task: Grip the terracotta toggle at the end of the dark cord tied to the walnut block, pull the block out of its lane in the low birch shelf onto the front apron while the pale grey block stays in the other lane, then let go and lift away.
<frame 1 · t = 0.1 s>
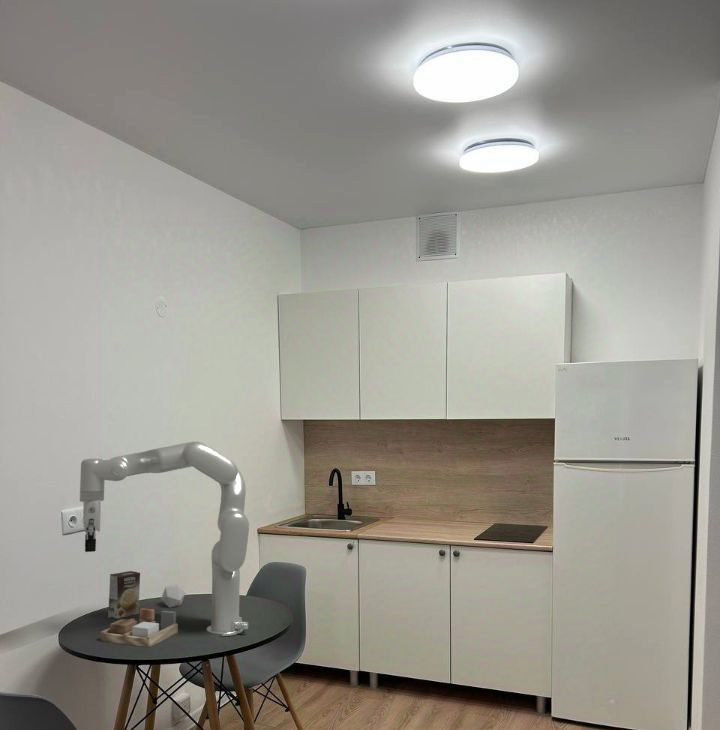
hand: (90, 548, 229), 31 cm above the table, tool pointing down, fingers open, 9 cm apart
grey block: (155, 626, 234), point 4 cm above the table, slide at 0.0 cm
lane shelf: (146, 636, 236), on the table
coffee box: (123, 617, 259), on the table
die: (173, 606, 275), on the table
walnut block: (133, 624, 237), point 4 cm above the table, slide at 0.0 cm
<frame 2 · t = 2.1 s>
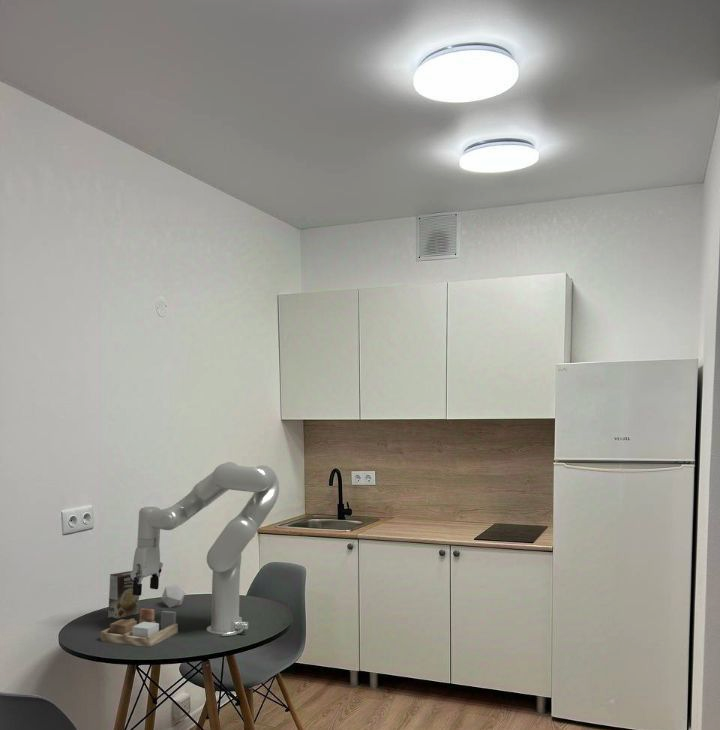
hand: (145, 591, 245), 13 cm above the table, tool pointing down, fingers open, 9 cm apart
nothing on the table moved.
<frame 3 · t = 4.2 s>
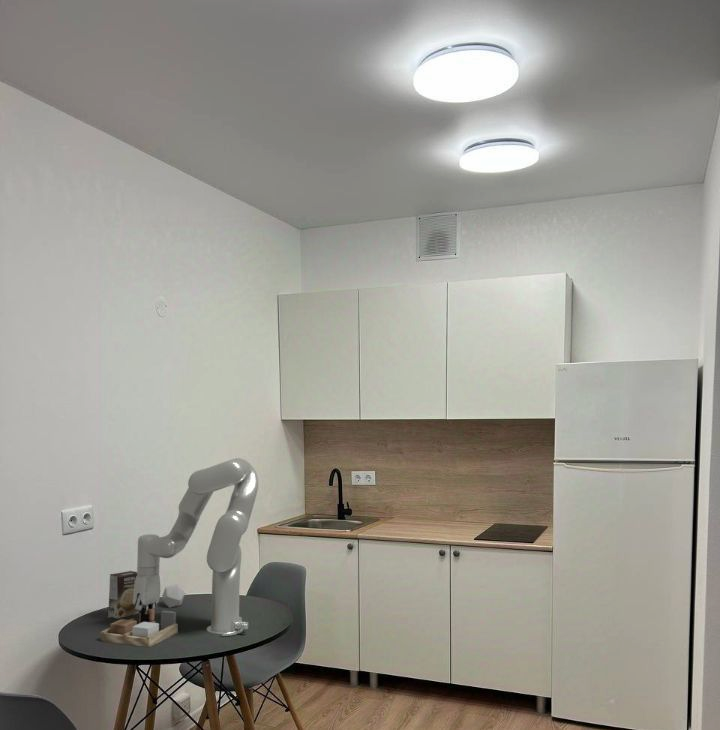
hand: (146, 623, 244), 2 cm above the table, tool pointing down, fingers closed on walnut block
walnut block: (133, 624, 237), point 4 cm above the table, slide at 0.0 cm, touching gripper
everything else where it was.
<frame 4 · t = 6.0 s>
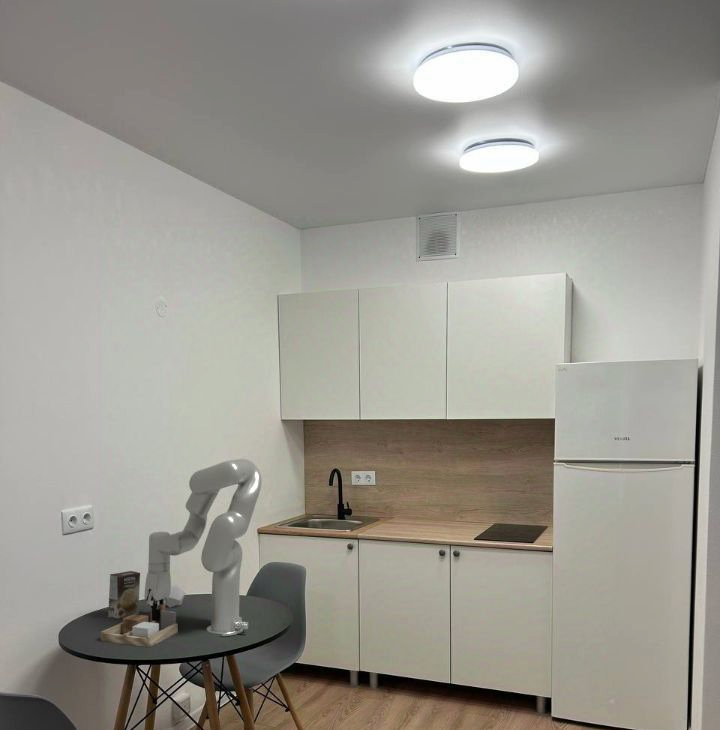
hand: (157, 618, 250), 2 cm above the table, tool pointing down, fingers closed on walnut block
walnut block: (145, 619, 243), point 4 cm above the table, slide at 6.4 cm, touching gripper
everything else where it was.
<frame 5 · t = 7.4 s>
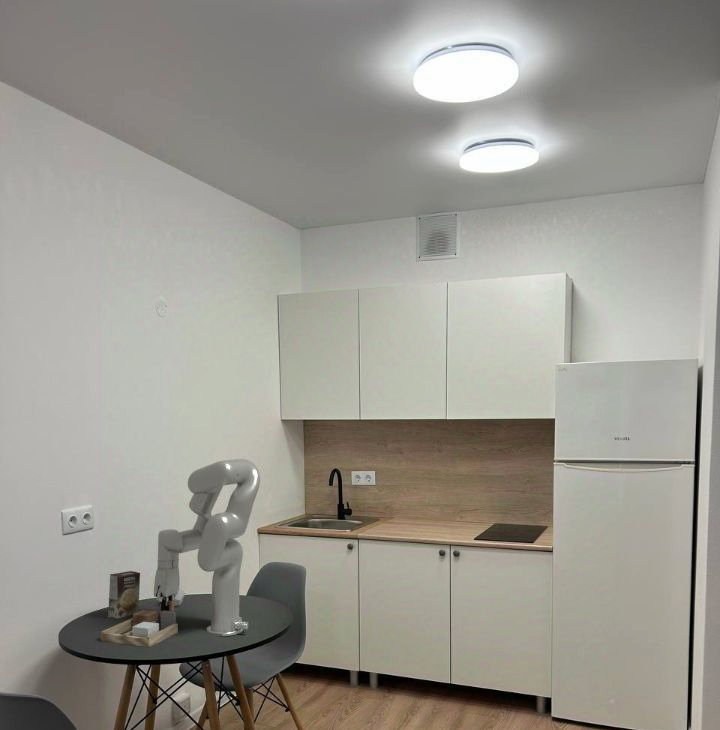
hand: (166, 614, 255), 2 cm above the table, tool pointing down, fingers closed on walnut block
walnut block: (154, 614, 248), point 4 cm above the table, slide at 12.0 cm, touching gripper
everything else where it was.
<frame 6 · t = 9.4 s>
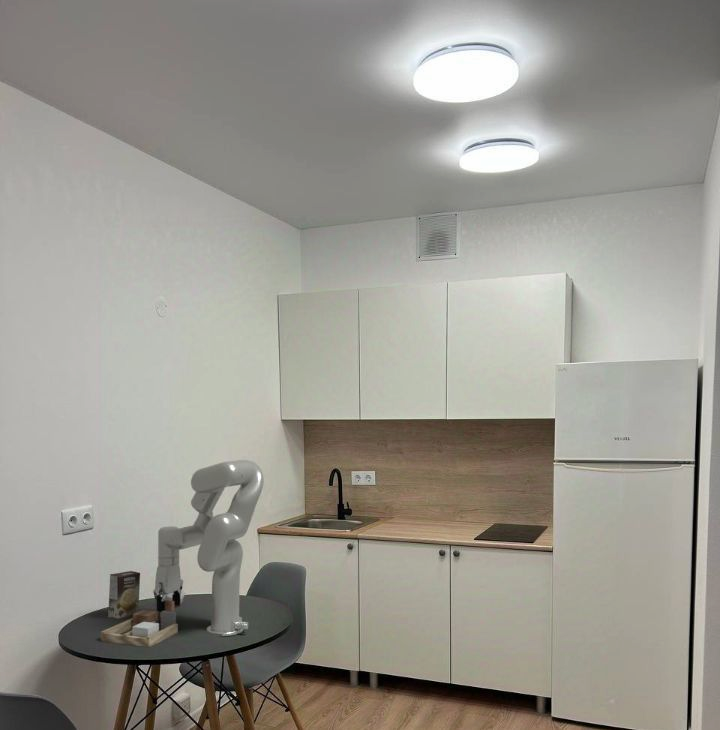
hand: (168, 608, 255), 4 cm above the table, tool pointing down, fingers open, 9 cm apart
walnut block: (154, 614, 248), point 4 cm above the table, slide at 12.0 cm
everything else where it was.
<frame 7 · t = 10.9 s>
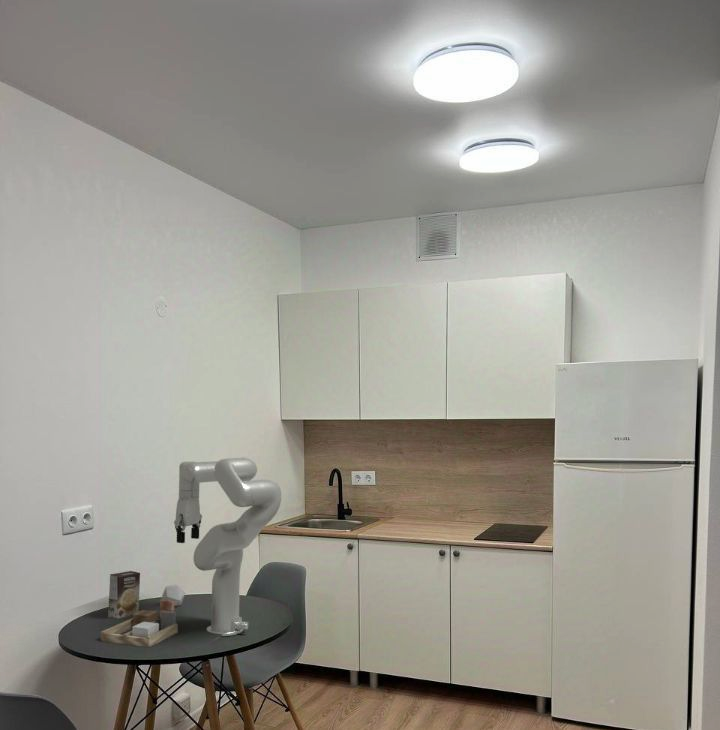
hand: (188, 540, 261), 28 cm above the table, tool pointing down, fingers open, 9 cm apart
nothing on the table moved.
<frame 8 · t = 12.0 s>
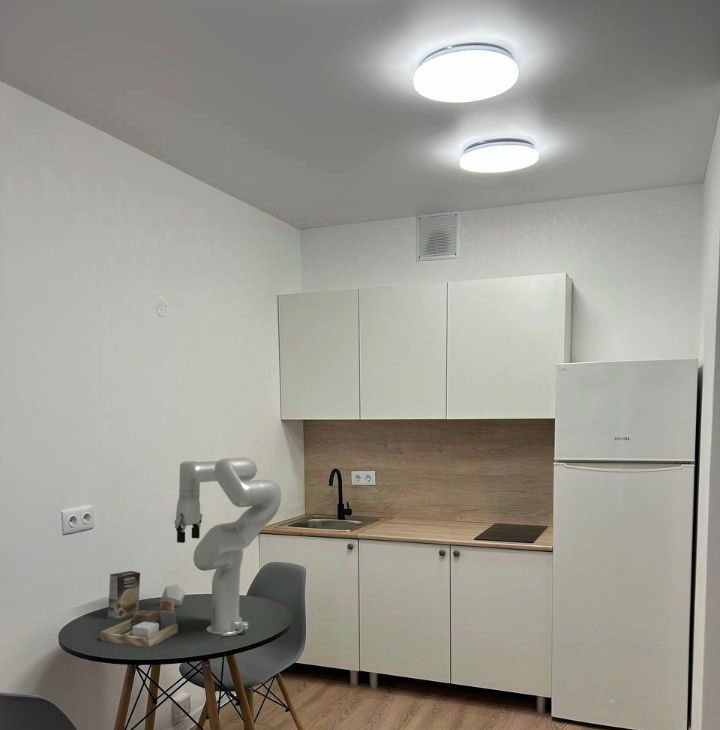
hand: (188, 540, 261), 28 cm above the table, tool pointing down, fingers open, 9 cm apart
nothing on the table moved.
at the end: walnut block slide at 12.0 cm; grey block slide at 0.0 cm; the gripper is holding nothing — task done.
